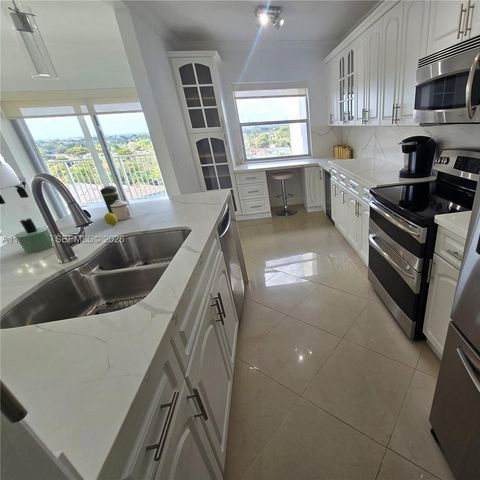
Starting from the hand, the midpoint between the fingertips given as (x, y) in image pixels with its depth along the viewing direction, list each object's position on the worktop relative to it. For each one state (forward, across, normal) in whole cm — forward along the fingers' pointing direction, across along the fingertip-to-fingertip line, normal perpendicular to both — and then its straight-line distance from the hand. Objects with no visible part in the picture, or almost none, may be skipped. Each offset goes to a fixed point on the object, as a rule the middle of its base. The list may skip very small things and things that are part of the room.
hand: (13, 200), depth 114 cm
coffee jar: (+24, -48, +3) cm, 54 cm away
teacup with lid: (+24, -42, +12) cm, 50 cm away
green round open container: (+24, 0, 0) cm, 24 cm away
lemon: (+24, -27, +15) cm, 40 cm away
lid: (+16, 0, 0) cm, 16 cm away
